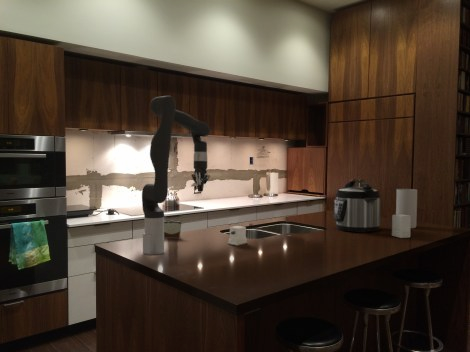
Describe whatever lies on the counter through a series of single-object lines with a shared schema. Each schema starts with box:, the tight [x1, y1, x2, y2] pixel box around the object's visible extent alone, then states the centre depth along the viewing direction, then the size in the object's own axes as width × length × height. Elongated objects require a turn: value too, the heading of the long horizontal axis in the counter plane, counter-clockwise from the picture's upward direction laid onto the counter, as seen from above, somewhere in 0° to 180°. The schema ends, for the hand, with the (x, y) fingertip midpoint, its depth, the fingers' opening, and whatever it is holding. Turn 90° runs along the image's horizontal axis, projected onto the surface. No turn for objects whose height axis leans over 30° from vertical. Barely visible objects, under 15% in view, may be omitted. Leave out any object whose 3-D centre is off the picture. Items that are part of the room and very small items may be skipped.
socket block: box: [228, 237, 248, 247], centre depth 206 cm, size 8×6×3 cm
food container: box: [164, 218, 183, 239], centre depth 224 cm, size 12×6×10 cm, turn 84°
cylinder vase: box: [395, 188, 418, 229], centre depth 259 cm, size 12×12×25 cm
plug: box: [229, 225, 247, 240], centre depth 206 cm, size 8×6×8 cm
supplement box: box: [391, 214, 412, 239], centre depth 228 cm, size 7×7×13 cm
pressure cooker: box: [333, 179, 381, 233], centre depth 250 cm, size 30×28×32 cm
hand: (200, 191), depth 215 cm, fingers closed
